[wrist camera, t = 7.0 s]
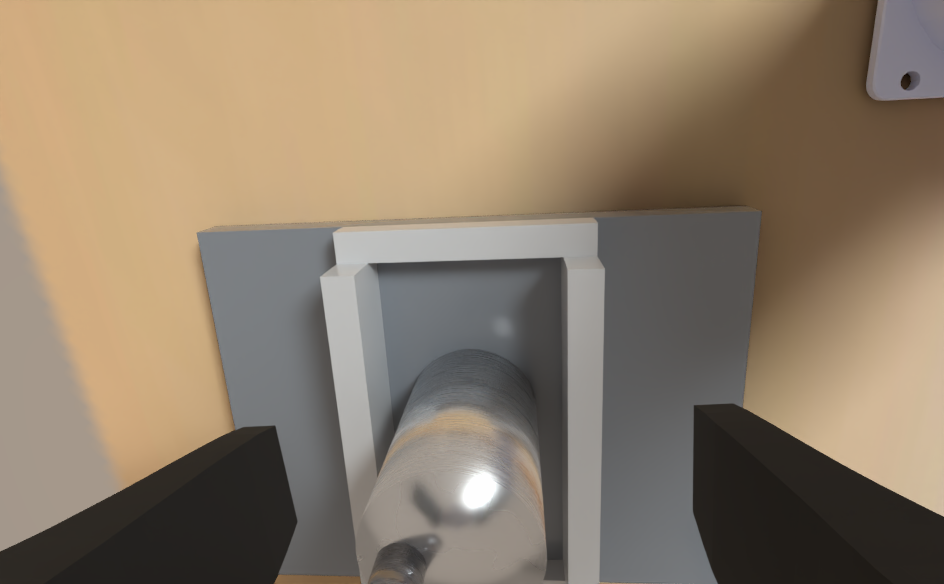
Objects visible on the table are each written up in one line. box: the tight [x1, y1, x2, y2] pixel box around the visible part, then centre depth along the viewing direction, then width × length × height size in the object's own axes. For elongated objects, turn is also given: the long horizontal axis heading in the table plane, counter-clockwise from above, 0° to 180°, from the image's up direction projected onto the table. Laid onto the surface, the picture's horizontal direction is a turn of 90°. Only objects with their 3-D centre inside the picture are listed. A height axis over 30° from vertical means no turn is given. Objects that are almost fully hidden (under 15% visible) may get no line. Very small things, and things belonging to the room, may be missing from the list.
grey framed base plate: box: [197, 206, 762, 584], centre depth 19 cm, size 18×14×4 cm
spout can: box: [356, 349, 547, 584], centre depth 15 cm, size 4×4×8 cm
